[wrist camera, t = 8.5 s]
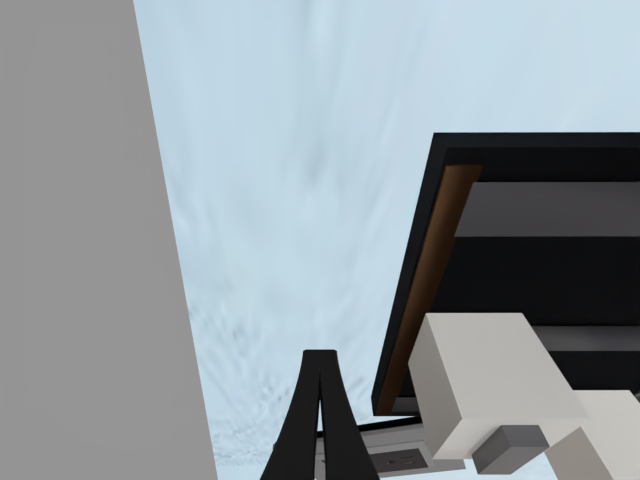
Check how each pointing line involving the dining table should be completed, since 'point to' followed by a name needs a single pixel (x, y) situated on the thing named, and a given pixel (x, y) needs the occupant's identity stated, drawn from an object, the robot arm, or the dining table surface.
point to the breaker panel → (525, 252)
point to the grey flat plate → (394, 449)
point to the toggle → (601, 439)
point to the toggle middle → (490, 391)
